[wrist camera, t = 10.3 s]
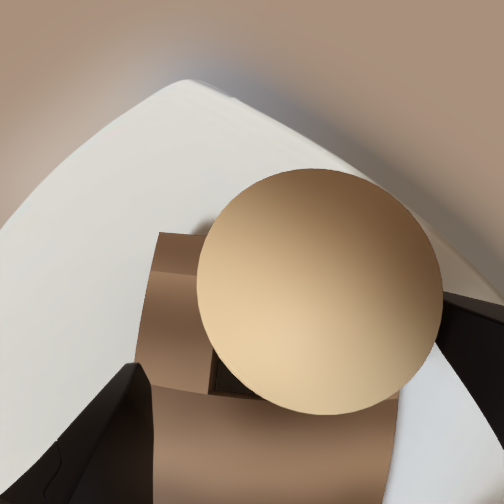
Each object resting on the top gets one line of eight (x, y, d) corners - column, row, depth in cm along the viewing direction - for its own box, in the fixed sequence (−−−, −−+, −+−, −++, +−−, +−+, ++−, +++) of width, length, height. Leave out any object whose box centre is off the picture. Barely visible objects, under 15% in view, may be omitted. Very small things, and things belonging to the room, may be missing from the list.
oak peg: (282, 398, 14) (382, 465, 3) (217, 358, 15) (129, 318, 4) (321, 334, 16) (467, 240, 4) (258, 297, 17) (280, 130, 5)
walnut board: (338, 569, 9) (351, 590, 6) (145, 557, 9) (131, 577, 6) (375, 272, 17) (395, 254, 15) (172, 254, 18) (159, 232, 15)
